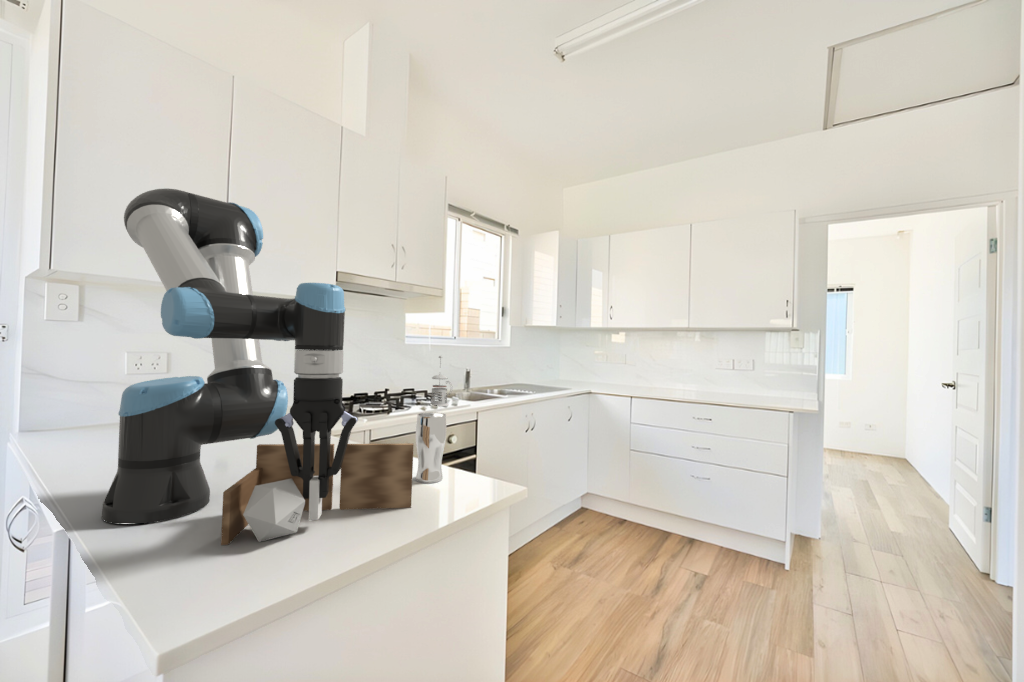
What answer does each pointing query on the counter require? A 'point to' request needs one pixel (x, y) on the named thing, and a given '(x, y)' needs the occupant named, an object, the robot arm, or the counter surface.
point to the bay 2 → (376, 476)
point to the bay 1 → (267, 470)
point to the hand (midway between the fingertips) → (315, 517)
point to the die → (274, 509)
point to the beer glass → (430, 446)
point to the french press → (443, 390)
